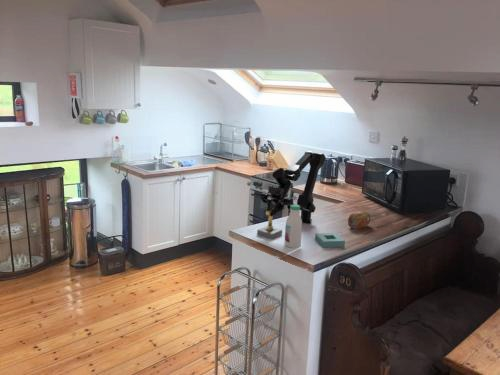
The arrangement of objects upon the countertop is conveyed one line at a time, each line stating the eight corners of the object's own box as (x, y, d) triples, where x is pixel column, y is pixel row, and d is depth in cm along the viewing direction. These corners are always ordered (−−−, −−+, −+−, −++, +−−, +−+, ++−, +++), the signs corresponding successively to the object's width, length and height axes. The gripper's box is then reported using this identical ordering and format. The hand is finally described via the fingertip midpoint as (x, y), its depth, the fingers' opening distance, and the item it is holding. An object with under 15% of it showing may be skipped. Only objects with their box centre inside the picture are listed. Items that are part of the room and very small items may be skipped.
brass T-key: (271, 227, 221) (272, 208, 218) (274, 228, 219) (276, 209, 217) (264, 230, 216) (265, 210, 213) (267, 231, 215) (269, 211, 212)
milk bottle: (301, 243, 209) (304, 204, 204) (299, 249, 202) (302, 208, 197) (285, 241, 211) (288, 202, 206) (283, 247, 203) (285, 206, 198)
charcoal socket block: (267, 231, 225) (267, 225, 224) (281, 235, 219) (282, 229, 218) (257, 235, 218) (257, 229, 217) (271, 240, 212) (271, 234, 212)
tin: (350, 230, 232) (351, 215, 230) (346, 228, 235) (347, 213, 233) (369, 226, 240) (371, 211, 238) (365, 224, 243) (367, 210, 241)
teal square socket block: (315, 239, 216) (315, 233, 215) (335, 238, 218) (336, 232, 218) (323, 247, 206) (323, 241, 205) (344, 246, 208) (345, 240, 207)
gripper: (262, 177, 220) (247, 202, 214) (293, 184, 209) (278, 210, 203) (270, 189, 228) (256, 214, 222) (300, 196, 217) (286, 222, 211)
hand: (269, 215), depth 215 cm, fingers closed on brass T-key, 2 cm apart
